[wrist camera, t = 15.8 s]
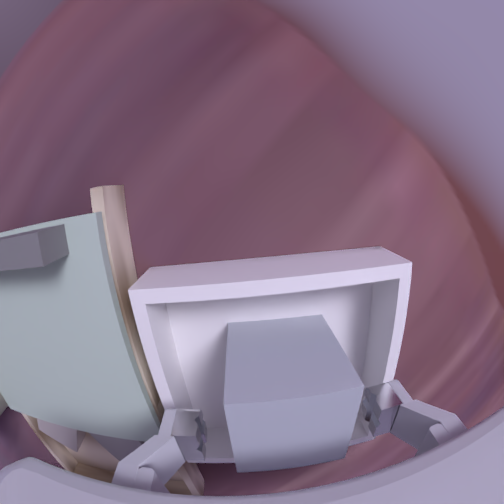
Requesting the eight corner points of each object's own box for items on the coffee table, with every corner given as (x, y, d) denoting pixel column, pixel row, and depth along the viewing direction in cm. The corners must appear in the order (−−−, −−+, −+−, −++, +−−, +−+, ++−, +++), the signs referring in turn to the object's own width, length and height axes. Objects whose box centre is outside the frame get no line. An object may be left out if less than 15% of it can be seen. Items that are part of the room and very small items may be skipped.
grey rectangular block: (316, 383, 14) (344, 458, 9) (236, 392, 14) (237, 472, 9) (321, 314, 13) (364, 386, 8) (228, 322, 13) (223, 404, 8)
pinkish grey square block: (85, 435, 15) (77, 452, 13) (48, 414, 15) (38, 429, 13) (87, 409, 14) (76, 428, 12) (46, 385, 14) (34, 401, 12)
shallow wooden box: (204, 480, 17) (203, 500, 15) (77, 460, 17) (70, 475, 15) (123, 185, 12) (102, 186, 9) (-26, 224, 11) (-47, 230, 9)
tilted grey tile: (164, 438, 15) (159, 459, 13) (128, 443, 15) (121, 462, 13) (128, 399, 14) (118, 421, 12) (92, 407, 14) (82, 426, 12)
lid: (166, 437, 12) (159, 467, 10) (13, 404, 12) (-1, 422, 10) (101, 211, 9) (69, 219, 7) (-48, 246, 9) (-71, 255, 7)
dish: (359, 408, 16) (374, 438, 13) (192, 428, 15) (187, 462, 12) (379, 246, 13) (412, 262, 10) (150, 267, 13) (127, 290, 10)
